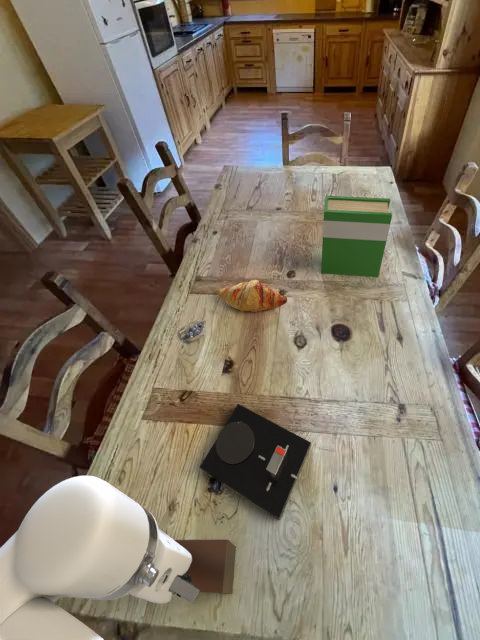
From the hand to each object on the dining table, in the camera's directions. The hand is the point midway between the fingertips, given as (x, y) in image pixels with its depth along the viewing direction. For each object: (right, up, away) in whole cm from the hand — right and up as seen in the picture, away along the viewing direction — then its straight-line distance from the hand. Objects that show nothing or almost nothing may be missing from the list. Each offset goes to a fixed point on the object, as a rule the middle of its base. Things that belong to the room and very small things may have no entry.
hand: (165, 565), depth 47 cm
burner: (+6, +4, +23) cm, 25 cm away
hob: (+11, +1, +23) cm, 26 cm away
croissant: (+6, +30, +53) cm, 61 cm away
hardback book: (+37, +39, +62) cm, 82 cm away
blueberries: (-9, +22, +46) cm, 52 cm away
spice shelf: (+1, -11, +12) cm, 16 cm away
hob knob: (+15, +1, +20) cm, 25 cm away
